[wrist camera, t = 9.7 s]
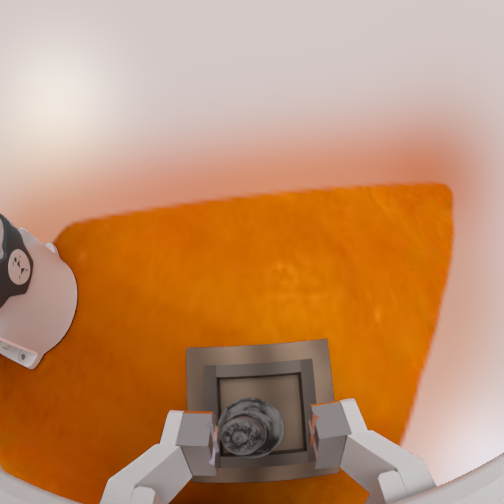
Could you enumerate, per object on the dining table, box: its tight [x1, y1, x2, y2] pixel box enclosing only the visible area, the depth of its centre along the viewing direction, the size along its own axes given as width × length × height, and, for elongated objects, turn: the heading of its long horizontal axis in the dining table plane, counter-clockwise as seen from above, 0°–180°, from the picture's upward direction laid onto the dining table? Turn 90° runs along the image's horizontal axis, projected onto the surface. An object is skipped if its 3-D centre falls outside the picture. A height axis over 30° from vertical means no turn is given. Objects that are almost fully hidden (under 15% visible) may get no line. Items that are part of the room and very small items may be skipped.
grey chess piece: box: [218, 398, 284, 459], centre depth 21 cm, size 6×6×12 cm
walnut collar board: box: [186, 339, 339, 483], centre depth 27 cm, size 15×15×4 cm
